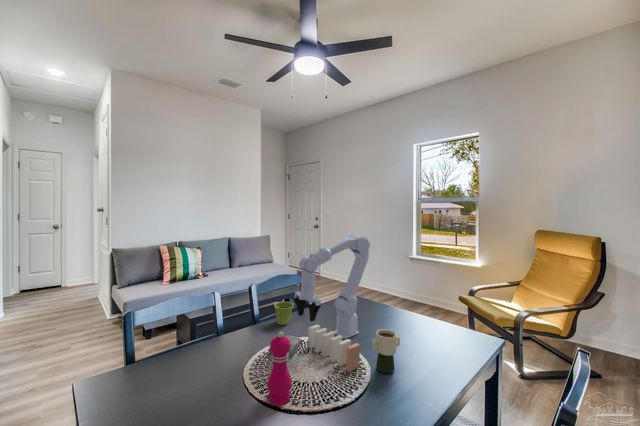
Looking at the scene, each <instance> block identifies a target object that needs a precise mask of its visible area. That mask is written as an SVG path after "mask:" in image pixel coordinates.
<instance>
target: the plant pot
mask: <svg viewBox="0 0 640 426" xmlns="http://www.w3.org/2000/svg"><path fill="white" fill-rule="evenodd" d="M294 306H295V305H294V303H293V302H290V301H280V302H276V303H274V305H273V307H274V310H275V315H276V316H275V317H276V322H277V323H276V324H278V325H281V326H283V325H284V326H286V325H289V324H290V322H291V316H292V312H293V311H292V310H293V309H294Z"/></svg>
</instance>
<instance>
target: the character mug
mask: <svg viewBox="0 0 640 426" xmlns="http://www.w3.org/2000/svg"><path fill="white" fill-rule="evenodd" d="M397 335H398V334H397V333H396V331H393V330H392V329H385V328H384V329H383V328H380V329H378V330H376V334H375V339H372V340H371V349H372V350H376V352H377V353H378V354H377V358H376V367H375V368H376V370H378V371H380V372H382V373H384V374H391V373H393V372H395V359H394V358H395V357H394V355H395V354H396V352H397V347H399V346H400V345H401V343H400V342H401V338H400V336H397Z"/></svg>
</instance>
